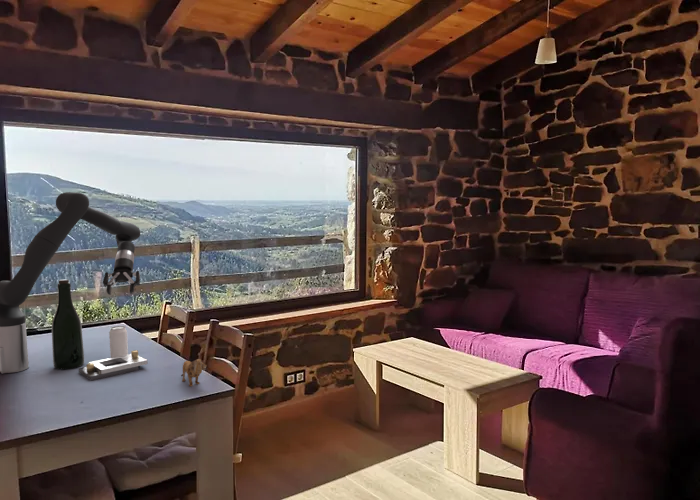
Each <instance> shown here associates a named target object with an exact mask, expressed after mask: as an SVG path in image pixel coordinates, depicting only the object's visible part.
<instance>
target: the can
mask: <svg viewBox="0 0 700 500" xmlns="http://www.w3.org/2000/svg"><path fill="white" fill-rule="evenodd" d="M108 333H109V334H108V335H109V351H110V353H109V354H110V358H113V357H118V356H123V355H128V354H129V348H128V347H129V345H128V342H129V341H128V331H127V329H126V326H125V325H117V326H116V325H115V326H112V327H110V328H109V332H108Z"/></svg>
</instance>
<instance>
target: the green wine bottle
mask: <svg viewBox="0 0 700 500" xmlns="http://www.w3.org/2000/svg"><path fill="white" fill-rule="evenodd" d="M71 289H72V286H71V282H70V280H69V279H64V278H63V279H59V280H58V283H57V293H58V294H57V297H58V298H57V307H56V310H55V313H54V315H53V319H52V322H51V342H52V343H51V344H52V345H51V346H52V348H51V349H52V363H53V367H54V368H55V369H56V370H70V369H71V370H72V369H75V368H80V367H81V366H82V365H84V364H85V354H84V352H85V349H84V341H83V340H84V338H83V327H82V322H81V319H80V317H79V314H78V311H77V310H76V309H75V305H74V302H73V297H72V290H71Z"/></svg>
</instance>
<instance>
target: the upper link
mask: <svg viewBox="0 0 700 500" xmlns="http://www.w3.org/2000/svg"><path fill="white" fill-rule="evenodd" d="M116 362H122V364H117V365H113V366H108V367H105V366H104V365H107V364H112V363H116ZM89 363H94V370H96V371H97V372H99V373H100V374H104V373H109V372H113V371H118V370H123V369H127V368H132V367H136V366H138V367H139V366H140V367H141V366H144V365H148V359H146V358H144V357H142V356H140V355H139V350H136V349H135V350H131V352H130V353H128V355H123V356H118V357H113V358H111V357H109V358H108V357H107V358H104V359H98V360H93V361H89V362H88V364H89Z"/></svg>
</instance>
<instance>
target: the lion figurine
mask: <svg viewBox="0 0 700 500" xmlns="http://www.w3.org/2000/svg"><path fill="white" fill-rule="evenodd" d="M207 366H208V365H207V364H205V363H204V362H202V359H200V358H198V359H195V360H192V361H190V360H186V361H184V362H183V363H182V374H180V377H182V380H181V382H184V383H185V382H186V374H187V379H188V384H189V385H188V387H193V386H194V384H193V383H195V385H200V384H201V382H200V381H199V377H200V375H201V374H202V373H203V371H206V368H207ZM193 378H194V379H195V380H194V382H193V380H192V379H193Z"/></svg>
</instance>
